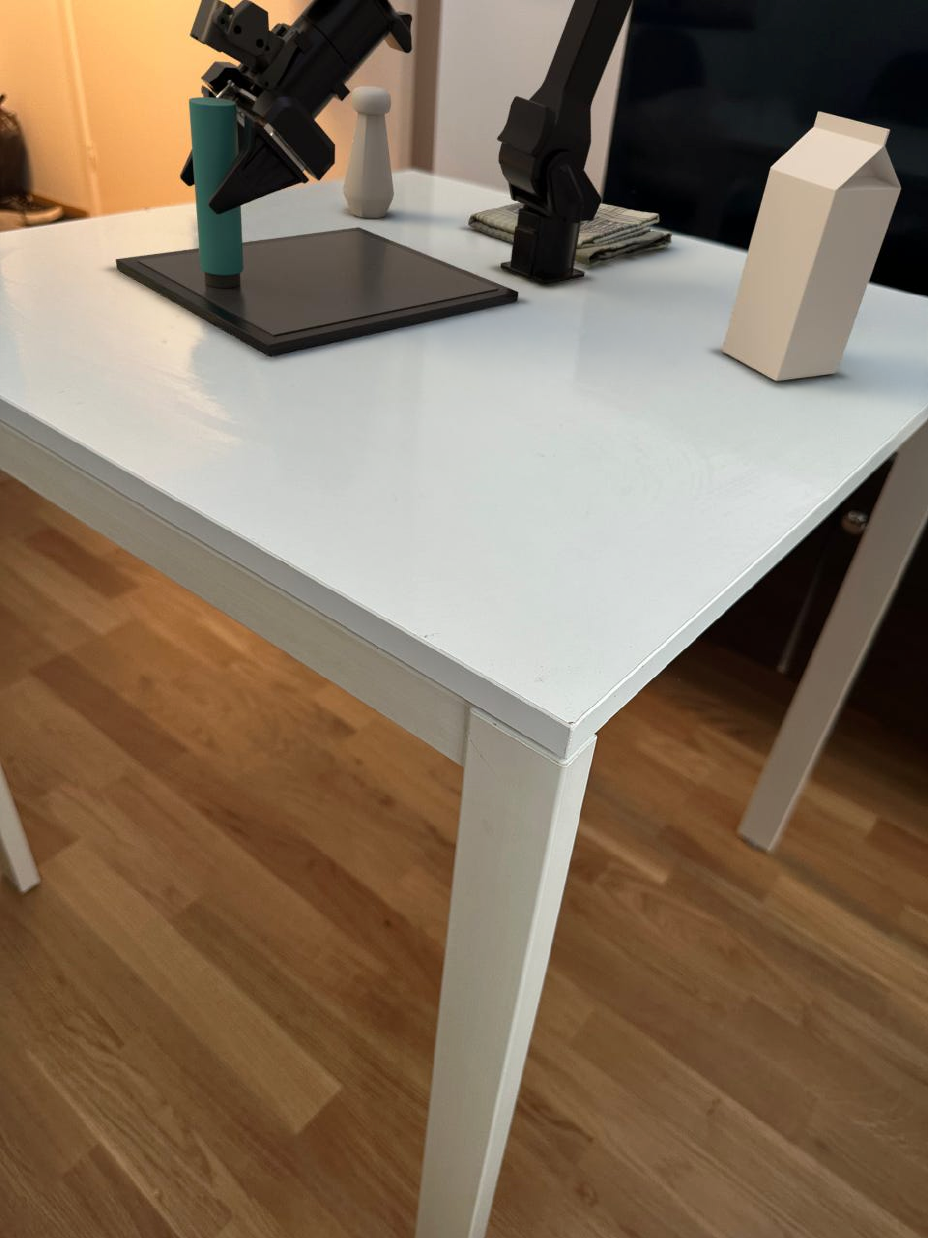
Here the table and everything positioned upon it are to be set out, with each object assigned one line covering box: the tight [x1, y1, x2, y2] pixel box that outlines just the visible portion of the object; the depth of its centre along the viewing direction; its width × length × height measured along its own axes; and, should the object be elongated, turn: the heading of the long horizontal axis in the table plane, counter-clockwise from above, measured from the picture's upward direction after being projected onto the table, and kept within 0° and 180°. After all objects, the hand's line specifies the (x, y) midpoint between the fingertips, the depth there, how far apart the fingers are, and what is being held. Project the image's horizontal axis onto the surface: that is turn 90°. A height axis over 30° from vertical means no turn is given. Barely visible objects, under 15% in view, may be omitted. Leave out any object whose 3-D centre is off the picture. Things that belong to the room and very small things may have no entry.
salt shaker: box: [342, 85, 395, 219], centre depth 105 cm, size 6×6×13 cm
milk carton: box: [721, 111, 902, 382], centre depth 75 cm, size 7×7×19 cm
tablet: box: [115, 226, 520, 357], centre depth 85 cm, size 28×24×1 cm
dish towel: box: [467, 202, 673, 268], centre depth 107 cm, size 19×18×3 cm
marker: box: [188, 96, 243, 288], centre depth 76 cm, size 4×4×14 cm
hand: (197, 195), depth 76 cm, fingers open, 9 cm apart
